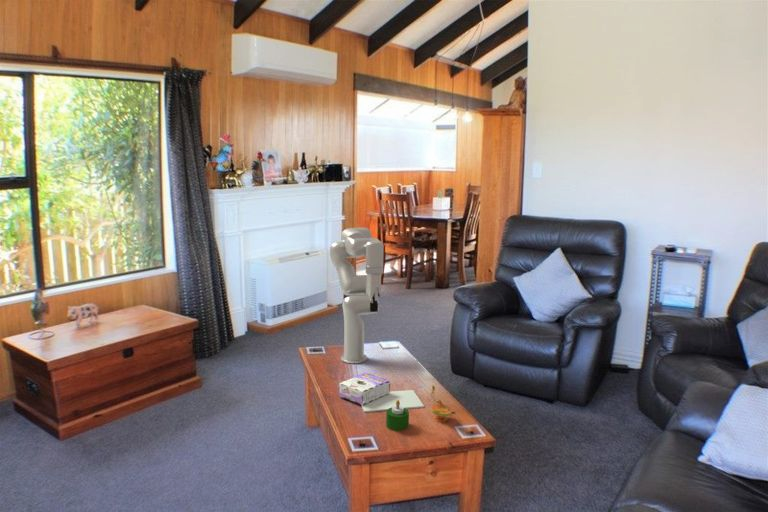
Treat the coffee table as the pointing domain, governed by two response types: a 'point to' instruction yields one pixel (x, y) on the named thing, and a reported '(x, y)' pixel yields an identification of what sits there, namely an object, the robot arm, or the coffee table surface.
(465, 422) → the coffee table surface
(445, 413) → the magic lamp
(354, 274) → the robot arm
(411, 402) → the mat
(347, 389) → the candy box
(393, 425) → the candle
